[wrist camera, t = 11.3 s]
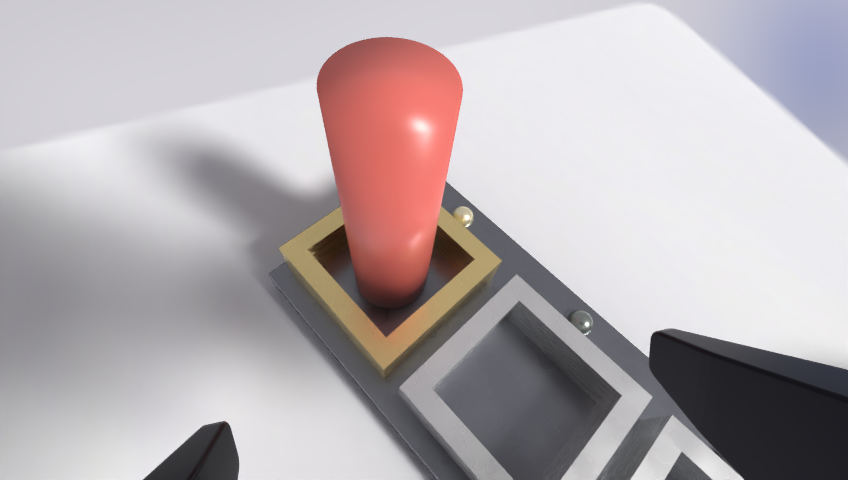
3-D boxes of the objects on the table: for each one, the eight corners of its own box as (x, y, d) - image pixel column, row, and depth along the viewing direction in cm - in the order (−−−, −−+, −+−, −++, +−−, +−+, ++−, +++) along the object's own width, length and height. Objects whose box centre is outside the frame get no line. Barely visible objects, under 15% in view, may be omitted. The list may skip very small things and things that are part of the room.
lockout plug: (434, 301, 22) (479, 129, 10) (360, 314, 21) (323, 146, 10) (419, 237, 24) (444, 33, 12) (351, 248, 23) (311, 42, 12)
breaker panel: (803, 515, 20) (892, 526, 16) (689, 785, 15) (781, 883, 11) (424, 178, 28) (429, 137, 24) (275, 284, 23) (255, 252, 20)
